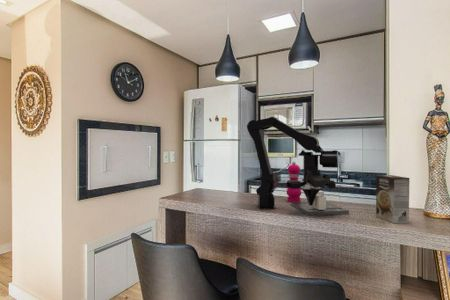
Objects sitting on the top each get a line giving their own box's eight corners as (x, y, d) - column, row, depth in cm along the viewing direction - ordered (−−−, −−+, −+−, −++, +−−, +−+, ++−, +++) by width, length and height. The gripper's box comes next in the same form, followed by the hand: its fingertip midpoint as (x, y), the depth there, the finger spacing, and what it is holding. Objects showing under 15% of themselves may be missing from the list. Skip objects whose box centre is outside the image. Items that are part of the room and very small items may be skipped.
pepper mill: (302, 203, 121) (302, 161, 121) (286, 202, 123) (286, 161, 123) (300, 200, 129) (300, 160, 128) (286, 199, 130) (286, 160, 130)
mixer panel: (308, 215, 98) (308, 211, 98) (290, 204, 118) (290, 201, 117) (349, 214, 100) (349, 210, 100) (324, 203, 119) (324, 200, 119)
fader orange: (318, 209, 100) (318, 197, 100) (312, 206, 105) (312, 194, 105) (326, 209, 101) (326, 197, 101) (319, 206, 106) (319, 194, 106)
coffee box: (375, 216, 97) (375, 174, 97) (390, 216, 97) (390, 174, 97) (392, 223, 88) (392, 177, 88) (410, 223, 88) (410, 177, 88)
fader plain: (317, 203, 113) (317, 191, 113) (312, 200, 118) (312, 190, 118) (323, 202, 113) (323, 191, 113) (318, 200, 118) (318, 189, 118)
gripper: (296, 168, 93) (296, 210, 94) (343, 168, 96) (343, 209, 96) (286, 166, 105) (286, 204, 105) (328, 166, 107) (328, 203, 107)
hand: (310, 205), depth 103 cm, fingers closed
